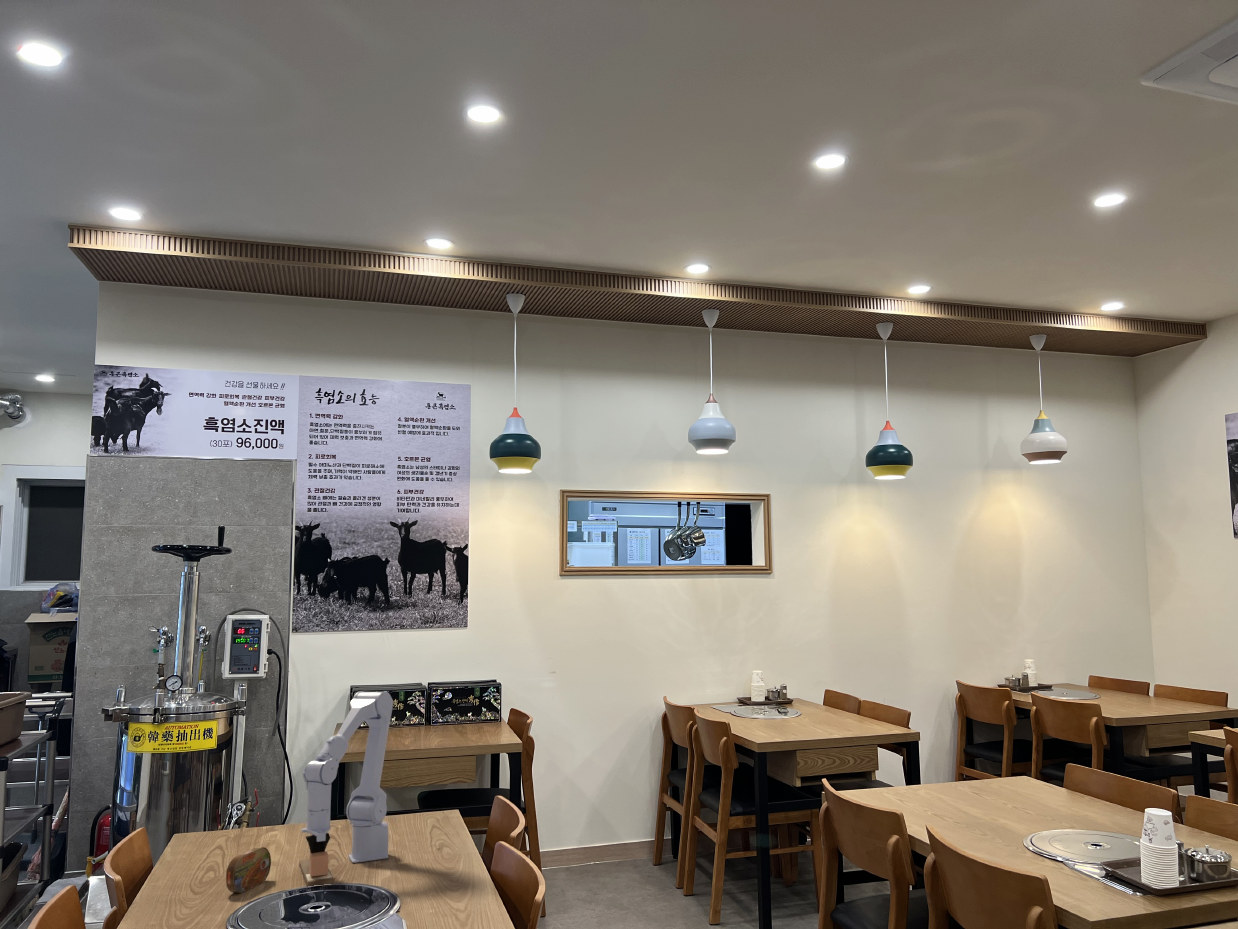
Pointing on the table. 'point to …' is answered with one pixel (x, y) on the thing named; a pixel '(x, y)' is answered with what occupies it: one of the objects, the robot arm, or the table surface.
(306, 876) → the track
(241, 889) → the tin
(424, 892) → the table surface
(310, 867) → the slider
